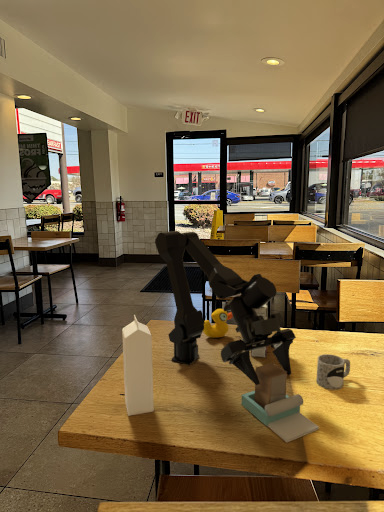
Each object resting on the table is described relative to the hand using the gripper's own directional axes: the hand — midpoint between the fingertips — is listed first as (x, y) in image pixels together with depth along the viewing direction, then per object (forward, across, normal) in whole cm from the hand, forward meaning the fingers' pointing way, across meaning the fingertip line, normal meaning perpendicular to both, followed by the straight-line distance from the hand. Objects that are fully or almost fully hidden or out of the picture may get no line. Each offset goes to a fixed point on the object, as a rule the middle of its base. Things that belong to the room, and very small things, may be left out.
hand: (274, 379), depth 84 cm
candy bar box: (-14, +18, +26) cm, 34 cm away
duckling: (-25, +12, +37) cm, 46 cm away
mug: (+4, +23, +8) cm, 25 cm away
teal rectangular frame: (+7, 0, +4) cm, 8 cm away
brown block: (+5, 0, +7) cm, 8 cm away
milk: (-6, -27, +18) cm, 33 cm away
